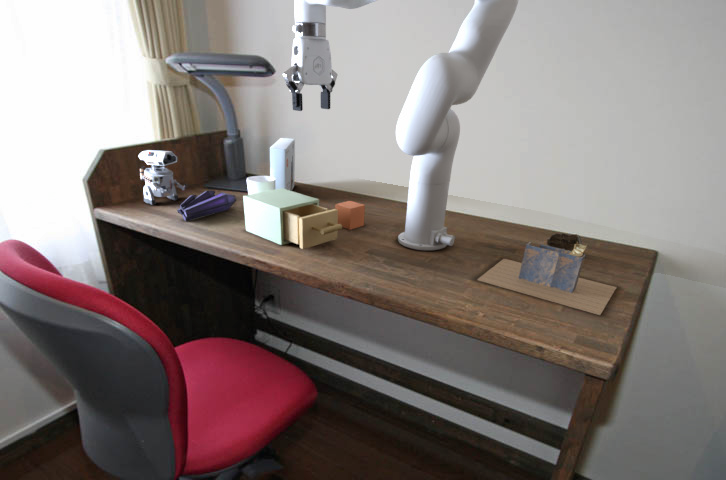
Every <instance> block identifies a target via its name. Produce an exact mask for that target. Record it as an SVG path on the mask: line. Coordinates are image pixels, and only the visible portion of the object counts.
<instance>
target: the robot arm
mask: <svg viewBox="0 0 726 480" xmlns="http://www.w3.org/2000/svg"><path fill="white" fill-rule="evenodd" d="M293 1H294V2H293V3H294V4H293V5H294V25H292V28H291V30H292V32H293V33H294V34H295V35H294V37H295V38H293V42H292V51H291V66H290V67H289V68H287V69H286V70H285V71H284V72H283V73H282V77H283V79H284V82H285V85H286V87H287V88H288V89H289V92H290V93H291V102H292V105H291V106H292V110H293V111H298V112H302V111H303V108H304V107H303V93H301V91H302V89H303V87H304V86H305V85H306V86H319V87H320V89H321V91H320V109H323V110H331V93H333V88H334V87H335V85H336V82H337V78H338V73H337V72H336V71H335V70H333V66H332V54H331V47H330V46H331V45H330V42H329V39H327V7H334V8H342V9H349V10H354V9H360V8H362V7H364V6H367V5H369V4H372V3H375V2H376V1H378V0H293ZM518 4H519V0H474V4H473V6H472V8H471V10H470V11H469V12H468V14H467V15H466V17H465V18H464V19H463V22H462V23H461V25H460V27H459V29H458V32H457V35H456V37H455V40H454V41H453V42H452V45H451V47H450V49H449V51H448V52H441V53H436V54H434V55H432V56H430V57H429V58H428V59H426V61H425V62H424V63H423V64H422V65H421V67H420V68H419V70H418V72H417V73H416V76H415V77H414V80H413V83H412V85H411V87H410V90H409V92H408V94H407V97H406V98H405V99H406V100H405V102H404V103H403V107H402V109H401V112H400V114H399V116H398V119H397V122H396V126H395V139H396V143H397V145H398V148H399V149H400V150H401V151H402V152H403V153H404V154H406V155H409V156H413V157H412V163H411V165H410V166H411V167H410V174H409V183H408V192H407V193H408V194H407V204H406V214H405V224H404V225H405V226H404V231H403V232H401V233H399V234H398V236H397V241H398V244H400V245H401V246H403V247H405V248H408V249H412V250H415V251H416V250H417V251H437V250H443V249H445V248H446V247H447V246H449V247H452V246H453V245H454V243H455V239H456V236H455V235H453V234H448V227H447V226H445V219H446V212H447V211H446V210H447V205H448V197H449V189H450V182H451V176H452V171H453V170H452V169H453V164H454V158H455V155H456V151H457V147H458V144H459V140H460V135H461V123H460V119H459V117H458V115H457V113H456V112H455V111H454V110H453V109H452V106H458V105H461V104H465V103H467V102H469V101H470V100H471V99H472V98H473V97H474V95H475V94H476V93H477V91H478V89H479V87H480V85H481V83H482V81H483V78H484V76H485V74H486V73H487V71H488V68H489V66H490V65H491V62H492V60H493V58H494V56H495V54H496V52H497V49H498V47H499V45H500V44H501V42H502V39H503V37H504V35H505V34H506V32H507V30H508V28H509V26H510V25H511V22H512V20H513V18H514V15H515V12H516V11H517V6H518Z"/></svg>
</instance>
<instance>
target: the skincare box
mask: <svg viewBox="0 0 726 480" xmlns="http://www.w3.org/2000/svg"><path fill="white" fill-rule="evenodd" d="M295 144H296V138H290V137H289V138H288V137H280V138H279V139H278V140H277V141H275V143H273V144H271V146H270V147H269V176H270V177H274V178H275V187H276V189H281V188H283V189H286V190H290V191H293V189H294V188H295V167H296V166H295V163H296V162H295V159H296V156H295V155H296V152H295V150H296V148H295V147H296V145H295Z"/></svg>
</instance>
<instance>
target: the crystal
mask: <svg viewBox="0 0 726 480" xmlns="http://www.w3.org/2000/svg"><path fill="white" fill-rule="evenodd" d="M235 202H237V198H236V195H234V194H229V193H227V192H224V191H223V192H219V193H217V194H216V190H205V191H203V192H202V193H199V195H197V194H191V195H189V196H188V197H187V198H186V199H185V200H184V201H183V202H181V204H180V205H179V206H180V207H179V208H177V209H176V211H177V213H178V214H179V215H181V216H182V219H183V220H184V221H185V222H188V221H193V220H196V219H199V218H203V217H207V216H210V215H214V214H218V213H222V212H226V211H229V210H230V208H231V207H233V205H234V204H235Z"/></svg>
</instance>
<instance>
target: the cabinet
mask: <svg viewBox="0 0 726 480" xmlns="http://www.w3.org/2000/svg"><path fill="white" fill-rule="evenodd" d="M242 199H243V211H244V213H243V214H244V224H245V231H246V232H248V233H250V234H253V235H255V236H257V237H261V238H262V239H265V240H267V241H270V242H272V243H275V244H277V245H280V246H285V245H287V244H292V242H291V241H288V240H286V239H284V233H283V211H285V210H289V209H294V208H298V207H302V206H306V205H311V204H315V205H318V206H320V199H319V198H317V197H312V196H309V195H305V194H303V193H299V192H296V191H293V190H292V191H290V190H286V189H283V188H281V189H275V190H270V191H265V192H260V193H255V194H250V195H248V194H246V195H242Z"/></svg>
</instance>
